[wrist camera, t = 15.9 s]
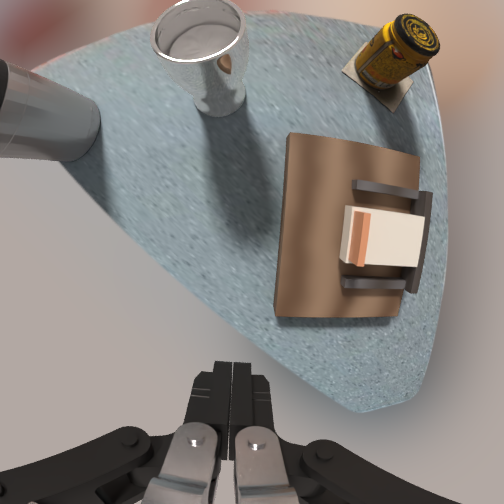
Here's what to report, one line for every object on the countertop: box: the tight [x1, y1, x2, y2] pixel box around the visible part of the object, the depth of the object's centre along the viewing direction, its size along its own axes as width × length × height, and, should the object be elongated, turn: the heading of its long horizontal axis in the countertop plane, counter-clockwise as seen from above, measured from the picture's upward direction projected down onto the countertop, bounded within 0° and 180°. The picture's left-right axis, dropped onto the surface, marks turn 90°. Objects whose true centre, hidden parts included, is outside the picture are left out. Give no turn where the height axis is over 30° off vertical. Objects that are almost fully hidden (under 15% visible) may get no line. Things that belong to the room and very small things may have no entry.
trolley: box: [339, 205, 425, 267], centre depth 25 cm, size 9×6×6 cm, turn 86°
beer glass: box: [150, 0, 249, 117], centre depth 20 cm, size 7×7×15 cm
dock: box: [273, 132, 433, 317], centre depth 28 cm, size 16×20×6 cm
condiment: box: [342, 14, 440, 113], centre depth 21 cm, size 7×8×12 cm
